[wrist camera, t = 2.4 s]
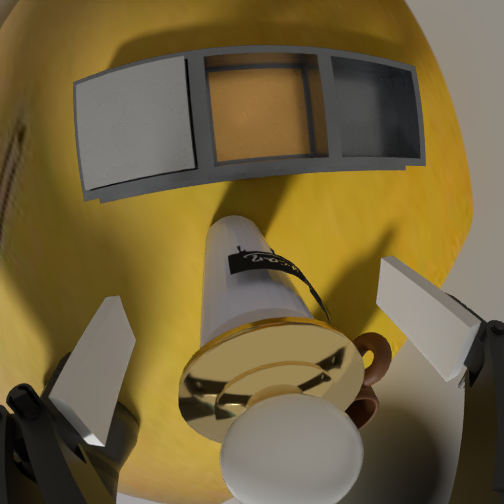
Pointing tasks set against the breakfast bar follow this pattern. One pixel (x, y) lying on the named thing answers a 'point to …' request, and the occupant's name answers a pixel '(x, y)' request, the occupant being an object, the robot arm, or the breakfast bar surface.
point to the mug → (369, 377)
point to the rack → (243, 118)
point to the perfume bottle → (270, 377)
